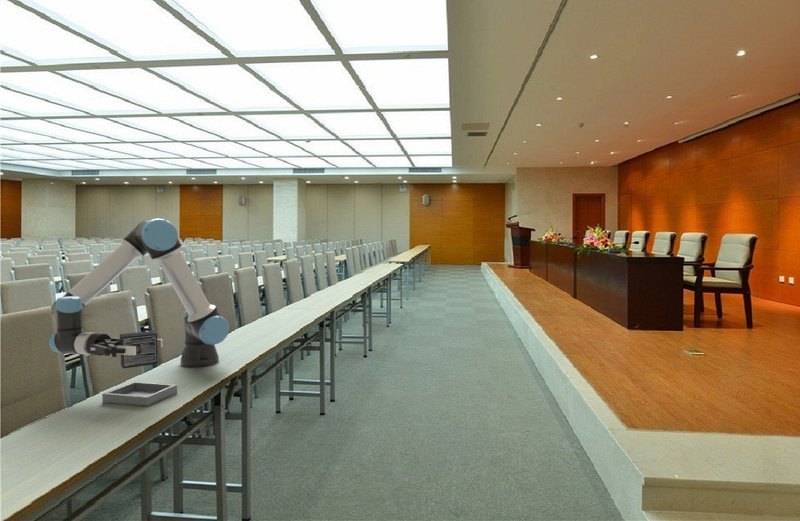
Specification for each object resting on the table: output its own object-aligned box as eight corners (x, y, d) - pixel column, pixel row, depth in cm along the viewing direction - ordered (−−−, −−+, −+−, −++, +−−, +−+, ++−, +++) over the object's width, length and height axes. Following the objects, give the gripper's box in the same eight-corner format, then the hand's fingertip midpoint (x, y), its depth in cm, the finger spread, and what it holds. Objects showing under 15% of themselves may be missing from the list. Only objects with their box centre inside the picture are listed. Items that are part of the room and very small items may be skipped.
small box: (155, 360, 174) (154, 330, 173) (158, 364, 169) (158, 332, 168) (120, 364, 168) (119, 333, 167) (122, 368, 163) (121, 336, 162)
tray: (134, 390, 178) (134, 381, 177) (177, 393, 174) (176, 384, 173) (102, 402, 164) (102, 393, 164) (147, 406, 160) (147, 397, 160)
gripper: (121, 347, 184) (173, 350, 179) (63, 363, 161) (121, 367, 156) (120, 326, 184) (172, 329, 178) (62, 339, 160) (120, 342, 155)
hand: (149, 347), depth 167 cm, fingers closed on small box, 11 cm apart
